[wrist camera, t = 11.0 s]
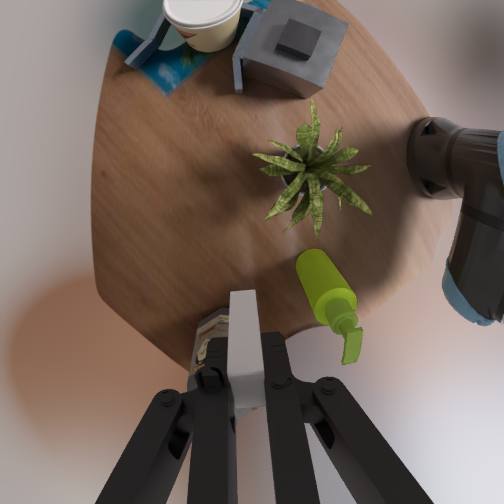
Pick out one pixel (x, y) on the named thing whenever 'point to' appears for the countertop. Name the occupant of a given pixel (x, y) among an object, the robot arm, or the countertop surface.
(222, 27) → the coffee cup
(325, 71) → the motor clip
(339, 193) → the house plant
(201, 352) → the liquor
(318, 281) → the soap dispenser
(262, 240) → the countertop surface
